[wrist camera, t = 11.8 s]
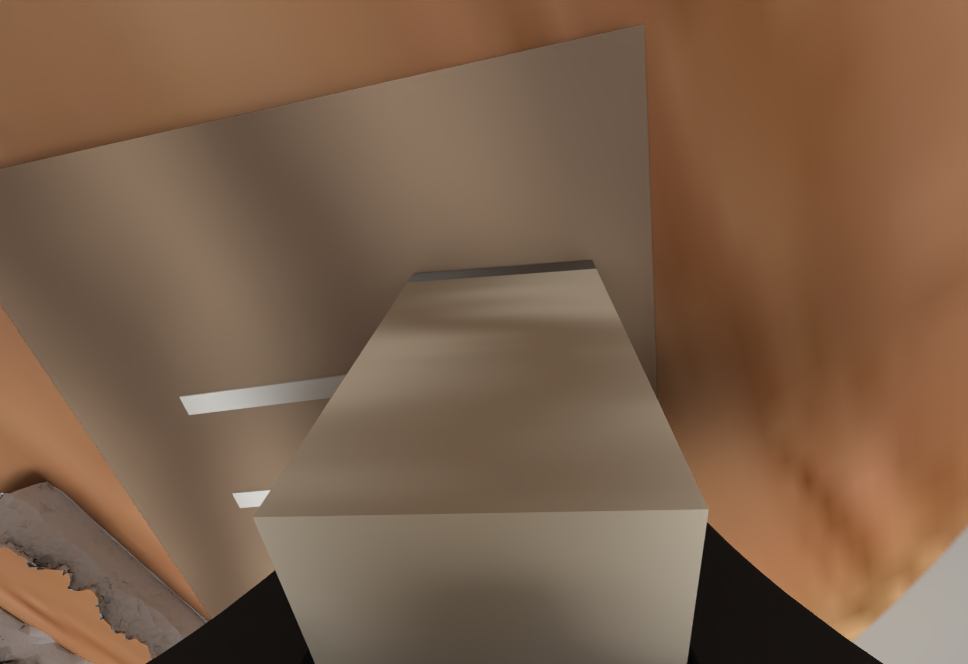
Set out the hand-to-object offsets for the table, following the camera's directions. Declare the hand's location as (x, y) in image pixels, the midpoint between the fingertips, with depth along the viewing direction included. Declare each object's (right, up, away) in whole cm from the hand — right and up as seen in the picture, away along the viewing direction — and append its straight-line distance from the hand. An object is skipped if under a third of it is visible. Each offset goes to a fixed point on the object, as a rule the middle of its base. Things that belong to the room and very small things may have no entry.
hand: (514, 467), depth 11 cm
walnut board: (-4, +1, +3) cm, 5 cm away
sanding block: (0, +1, +1) cm, 1 cm away
